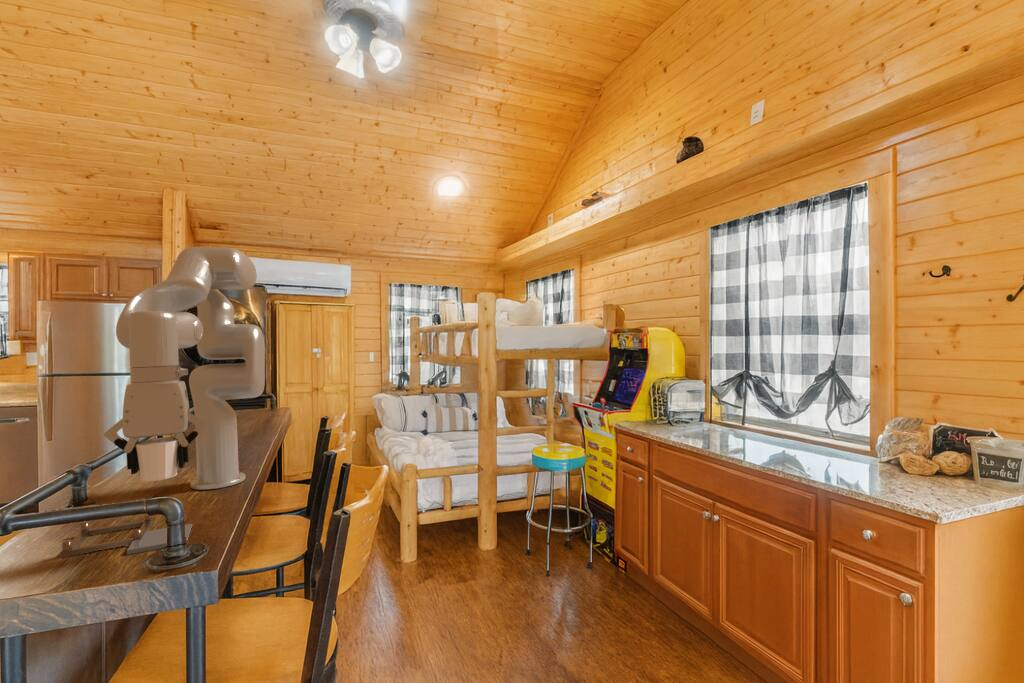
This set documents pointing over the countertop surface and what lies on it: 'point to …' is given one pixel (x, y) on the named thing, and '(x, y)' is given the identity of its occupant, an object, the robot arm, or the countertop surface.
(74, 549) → the brown square frame
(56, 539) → the countertop surface
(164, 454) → the shot glass
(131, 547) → the coaster
